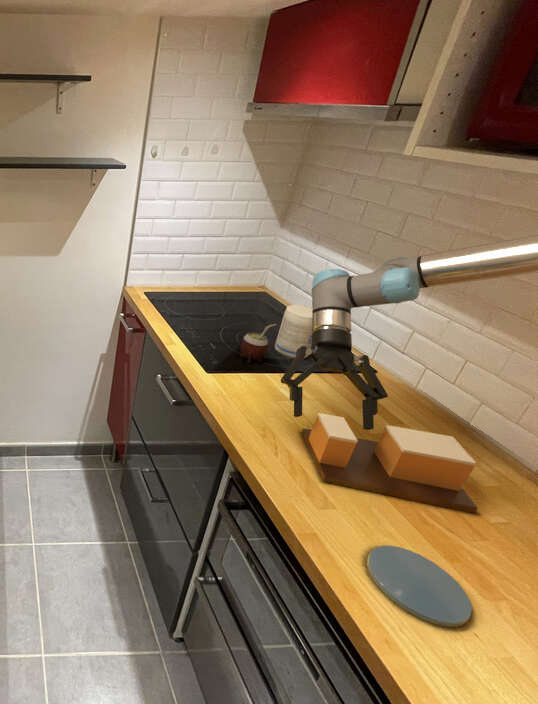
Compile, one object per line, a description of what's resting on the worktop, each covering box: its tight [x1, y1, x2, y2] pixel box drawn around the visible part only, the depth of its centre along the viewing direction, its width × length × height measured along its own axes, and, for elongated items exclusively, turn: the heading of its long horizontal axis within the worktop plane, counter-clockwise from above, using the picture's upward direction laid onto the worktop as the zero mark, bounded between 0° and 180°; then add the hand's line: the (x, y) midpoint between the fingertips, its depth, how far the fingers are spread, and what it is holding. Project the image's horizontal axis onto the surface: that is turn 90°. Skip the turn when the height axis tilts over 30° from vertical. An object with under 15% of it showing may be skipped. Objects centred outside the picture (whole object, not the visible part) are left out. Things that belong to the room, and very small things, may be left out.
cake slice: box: [309, 412, 358, 468], centre depth 98 cm, size 5×8×8 cm, turn 163°
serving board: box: [301, 427, 479, 514], centre depth 97 cm, size 26×16×2 cm, turn 73°
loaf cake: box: [374, 424, 477, 491], centre depth 94 cm, size 12×8×8 cm, turn 73°
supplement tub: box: [274, 304, 314, 359], centre depth 140 cm, size 10×10×15 cm
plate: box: [366, 545, 473, 628], centre depth 73 cm, size 13×13×1 cm
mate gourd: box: [239, 323, 278, 364], centre depth 135 cm, size 8×8×15 cm
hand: (332, 422), depth 98 cm, fingers open, 13 cm apart
